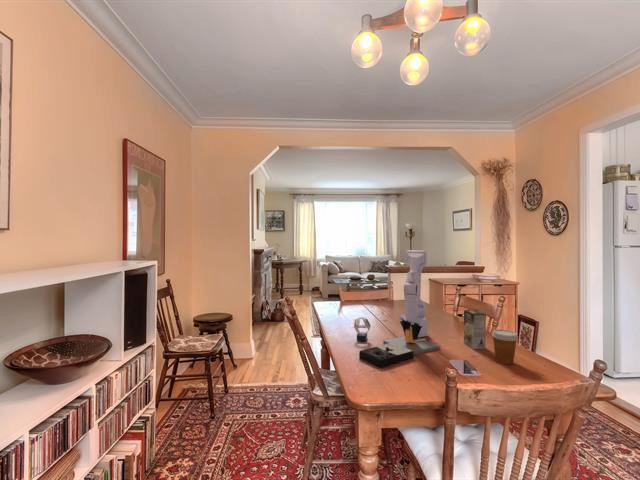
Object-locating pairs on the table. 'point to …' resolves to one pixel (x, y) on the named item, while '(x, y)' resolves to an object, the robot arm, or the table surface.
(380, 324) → the table surface
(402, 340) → the board
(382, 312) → the table surface
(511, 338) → the disposable coffee cup
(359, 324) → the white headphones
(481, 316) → the coffee box
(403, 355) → the multimeter
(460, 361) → the mobile phone
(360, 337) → the watch
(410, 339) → the orange cap
